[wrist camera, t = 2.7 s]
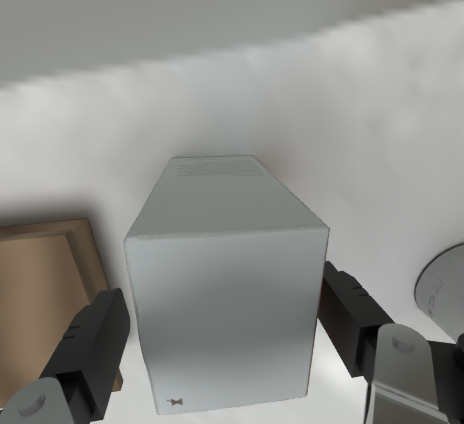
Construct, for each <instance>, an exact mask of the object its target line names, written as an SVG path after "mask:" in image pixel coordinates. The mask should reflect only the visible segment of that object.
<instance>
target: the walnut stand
mask: <svg viewBox="0 0 464 424" xmlns="http://www.w3.org/2000/svg"><path fill="white" fill-rule="evenodd" d="M107 289H109V287H108V284H107V280H106V277H105V274H104V271H103V267H102V264H101V261H100V258H99V255H98V251H97V248H96V245H95V242H94V238H93V235H92V232H91V229H90V226H89V222H88V219H87V218H85V219H75V220H65V221H55V222H45V223H35V224H26V225H16V226H6V227H0V408H4V406H5V405H6V403H7V402H8V401H9V400H10V399H11V397H12V396H13V395H14V394H15V393H17V392H18V391H19V390H20V389H21V388H23V387H24V386H26V385H27V384H29V383H31V382H33V381H35V380H38V378H39V377H40V375H41V373H42V371H43V370H44V368H45V366H46V364H47V363H48V361H49V359H50V358H51V356H52V354H53V352H54V351H55V349H56V347H57V346H58V344H59V342H60V340H62V337H63V335H64V333H65V332H66V330H68V327H69V325H70V323H71V321H72V320H73V318H74V316H75V315H76V314H77V313H78V312H79V311H80V310H81V309H83V308H84V307H85V306H86V305H92V303H93V301H94V299H95V297H96V295H97V293H98V292H99V291H100V290H107ZM122 384H123V378H122V375H121V372H120V369H119V368H118V372H117V375H116V378H115V382H114V385H113V388H112V392H115V391H121V388H122Z"/></svg>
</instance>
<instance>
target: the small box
mask: <svg viewBox="0 0 464 424" xmlns="http://www.w3.org/2000/svg"><path fill="white" fill-rule="evenodd" d="M329 231H330V228H329V227H328V226H327V225H326V224H325V223H324V222H323V221H322V220H321V219H320V218H318V217H317V216H316V215H315V214H314V213H313V212H312V211H311V210H310V209H309V208H308V207H307V206H306V205H305V204H304V203H303V202H302V201H300V200H299V199H298V198H297V197H296V196H295V195H294V194H293V193H292V192H291V191H290V190H289V189H288V188H286V187H285V186H284V185H283V184H282V183H281V182H280V181H279V180H278V179H277V178H276V177H275V176H274V175H273V174H272V173H270V172H269V171H268V170H267V169H266V168H265V167H264V166H263V165H262V164H261V163H260V162H259V161H258V160H257V159H255V158H254V157H253V156H225V157H195V158H172V159H171V160H170V162H169V163H168V165H167V167H166V168H165V170H164V172H163V174H162V175H161V177H160V179H159V180H158V182H157V184H156V185H155V187H154V189H153V191H152V192H151V194H150V196H149V197H148V199H147V201H146V203H145V204H144V206H143V208H142V210H141V212H140V213H139V215H138V217H137V218H136V220H135V222H134V223H133V225H132V227H131V228H130V230H129V232H128V233H127V235H126V237H125V239H124V251H125V257H126V263H127V269H128V274H129V280H130V286H131V291H132V296H133V302H134V307H135V313H136V318H137V325H138V333H139V341H140V346H141V351H142V354H143V359H144V362H145V365H146V368H147V371H148V376H149V380H150V384H151V389H152V393H153V397H154V403H155V407H156V412H157V414H158V415H168V414H181V413H191V412H200V411H208V410H217V409H224V408H232V407H240V406H246V405H254V404H260V403H268V402H275V401H282V400H288V399H294V398H302V397H305V396H306V395H307V392H308V384H309V377H310V369H311V362H312V355H313V348H314V340H315V332H316V326H317V318H318V311H319V304H320V297H321V288H322V281H323V273H324V266H325V259H326V252H327V245H328V237H329Z"/></svg>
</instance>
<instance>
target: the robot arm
mask: <svg viewBox="0 0 464 424" xmlns="http://www.w3.org/2000/svg"><path fill="white" fill-rule="evenodd" d="M415 297H416V302H417V305H418V307H419V308H420V309H421V310H422V311H423V312H424V313H425V314H426V315H427V316H428V317H429V318H430V319H431V320H432V321H434V322H435V323H436V324H437V325H438V326H439V327H440V328H441V329H442V330H443V331H444V332H445V333H446V334H447V335H448V336H449V337H451V338H452V339H453V340H454V341H455V342H456V344H452V343H444V342H436V341H429V340H426V339H425V338H424V337H423V336H422V335H421V334H419V333H418V332H417V331H415V330H413V329H412V328H409V327H407V326H404V325H401V324H396V323H395V322H394V321H393V320H392V319H391V318H390V317H389V316H388V315H387V313H386V312H385V311H384V310H383V309H382V308H381V307H380V306H379V305H378V303H377V302H376V301H375V300H374V299H373V298H372V297H371V296H369V293H368V292H367V291H366V290H365V289H364V288H362V286H361V285H360V283H359V282H358V281H357V280H356V279H355V278H354V277H352V276H351V275H349V274H347V273H346V272H344V271H339V272H338V271H337V270H336V268H335V267H334V266H333V265H332V264H331V262H329V261H325V266H324V273H323V281H322V288H321V297H320V304H319V311H318V318H319V320H320V322H321V324H322V326H323V327H324V329H325V331H326V333H327V334H328V336H329V338H330V340H331V342H332V343H333V345H334V347H335V349H336V350H337V352H338V354H339V356H340V357H341V359H342V361H343V363H344V365H345V366H346V368H347V370H348V372H349V373H350V375H351V377H352V378H353V377H359V376H364V378H365V380H366V381H367V383H368V384H367V389H366V398H365V407H364V416H363V424H464V245H460V246H457V247H455V248H453V249H451V250H449V251H447V252H445V253H444V254H442V255H441V256H439V257H438V258H437V259H436V260H434V261H433V262H432V263H431V264H430V265H429V266H428V268H427V269H426V270H425V271H424V272H423V274H422V276H421V277H420V279H419V281H418V284H417V287H416V293H415ZM129 331H130V317H129V313H128V310H127V306H126V303H125V299H124V296H123V293H122V290H121V289H120V288H115V289H107V290H100V291H99V292H98V293H97V295H96V297H95V299H94V301H93V303H92V305H86V306H85V307H84V308H83V309H81V310H80V311H79V312H78V313H77V314H76V315H75V316H74V318H73V320H72V321H71V323H70V325H69V327H68V330H66V332H65V333H64V335H63V337H62V340H60V342H59V344H58V346H57V347H56V349H55V351H54V352H53V354H52V356H51V358H50V359H49V361H48V363H47V364H46V366H45V368H44V370H43V371H42V373H41V375H40V377H39V378H38V380H35V381H33V382H31V383H29V384H27V385H26V386H24V387H23V388H21V389H20V390H19V391H18V392H17V393H15V394H14V395H13V396H12V397H11V399H10V400H9V401H8V402H7V403H6V405H5V406H4V408H3V409H2V410H0V424H90V422H93V421H99V420H103V419H104V415H105V412H106V409H107V405H108V402H109V399H110V395H111V392H112V388H113V385H114V382H115V378H116V375H117V372H118V368H119V365H120V362H121V358H122V355H123V352H124V348H125V345H126V342H127V338H128V335H129ZM448 422H449V423H448Z"/></svg>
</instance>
